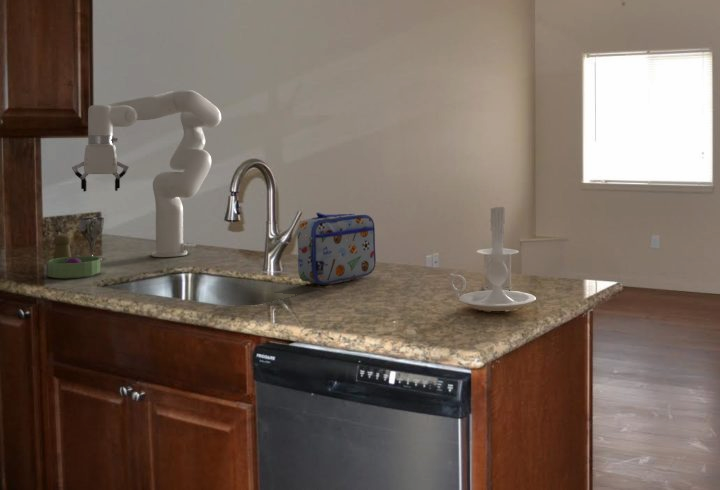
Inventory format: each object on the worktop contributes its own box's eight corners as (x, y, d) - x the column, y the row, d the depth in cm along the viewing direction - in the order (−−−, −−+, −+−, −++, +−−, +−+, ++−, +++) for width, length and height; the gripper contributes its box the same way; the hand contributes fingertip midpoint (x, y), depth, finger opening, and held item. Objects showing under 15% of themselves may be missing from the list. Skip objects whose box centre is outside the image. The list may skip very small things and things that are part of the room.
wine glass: (108, 259, 289) (108, 218, 289) (87, 262, 283) (86, 220, 282) (96, 257, 294) (96, 216, 293) (74, 260, 287) (74, 218, 287)
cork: (76, 265, 275) (76, 234, 275) (65, 268, 269) (64, 236, 269) (60, 265, 275) (60, 233, 275) (48, 268, 269) (48, 236, 269)
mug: (494, 295, 230) (495, 254, 230) (471, 291, 235) (471, 251, 235) (517, 288, 240) (517, 249, 240) (494, 285, 245) (494, 246, 245)
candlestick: (465, 297, 226) (466, 200, 226) (546, 305, 217) (547, 203, 216) (431, 312, 207) (431, 205, 207) (518, 321, 198) (519, 209, 197)
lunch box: (313, 289, 236) (313, 216, 236) (290, 285, 242) (290, 213, 242) (379, 276, 259) (379, 209, 258) (357, 273, 265) (357, 207, 264)
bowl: (101, 269, 267) (101, 255, 267) (98, 277, 253) (98, 261, 253) (49, 272, 261) (49, 257, 261) (43, 280, 247) (43, 264, 247)
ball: (83, 271, 260) (82, 256, 260) (82, 273, 256) (81, 258, 255) (66, 272, 258) (65, 257, 258) (64, 275, 254) (63, 259, 253)
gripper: (128, 141, 279) (128, 189, 279) (72, 141, 272) (73, 190, 272) (128, 141, 272) (128, 191, 272) (70, 141, 265) (71, 192, 265)
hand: (100, 190), depth 272 cm, fingers open, 9 cm apart
